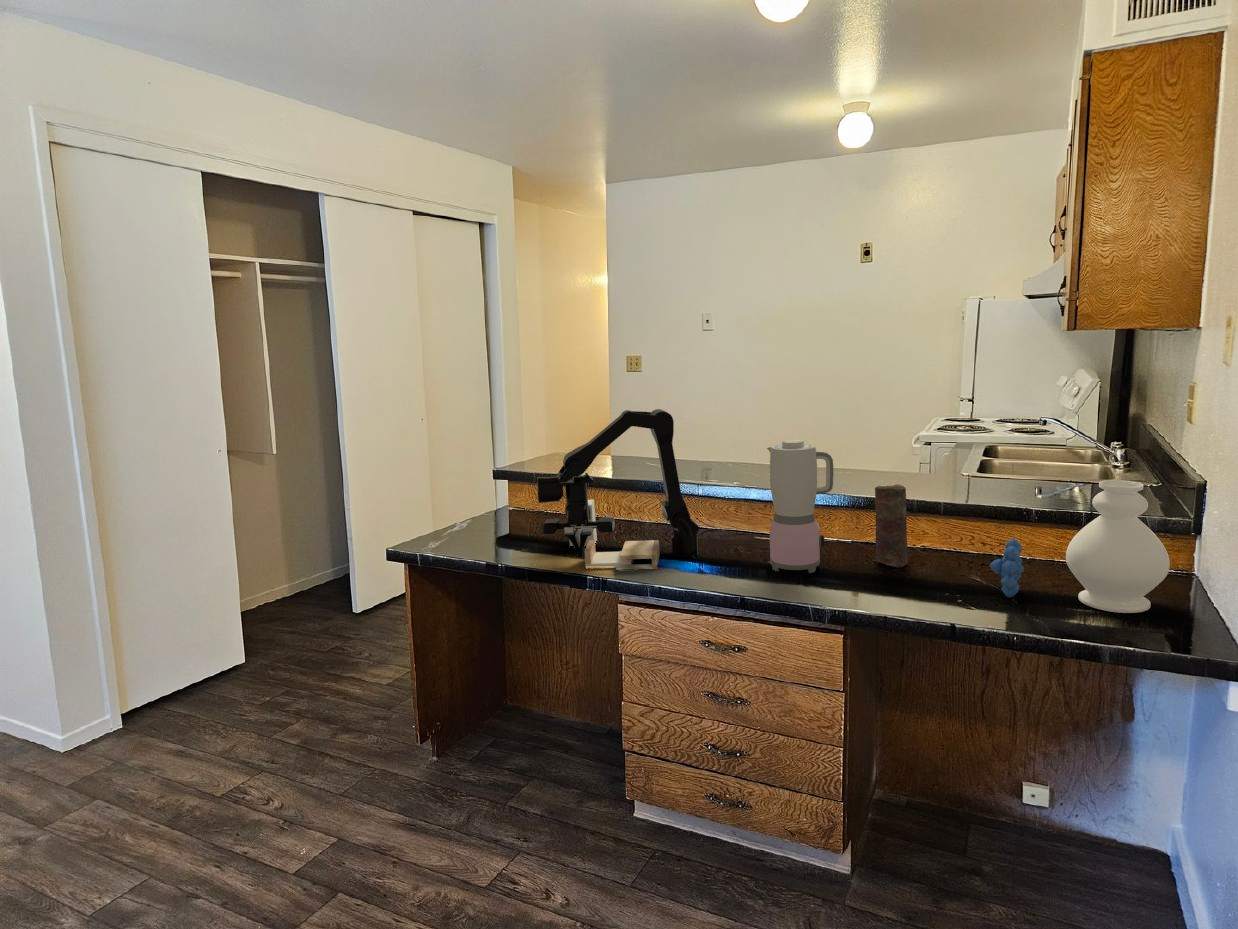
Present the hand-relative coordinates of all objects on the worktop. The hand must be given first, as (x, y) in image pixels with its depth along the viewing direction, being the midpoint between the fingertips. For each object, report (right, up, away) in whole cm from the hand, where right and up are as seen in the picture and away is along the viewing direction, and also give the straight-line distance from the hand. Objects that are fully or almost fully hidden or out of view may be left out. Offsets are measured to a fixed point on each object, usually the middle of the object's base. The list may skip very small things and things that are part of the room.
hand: (580, 556), depth 204 cm
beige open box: (+14, -1, -1) cm, 15 cm away
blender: (+56, -1, -13) cm, 57 cm away
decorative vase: (+113, -4, -46) cm, 122 cm away
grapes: (+95, -4, -38) cm, 102 cm away
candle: (+78, 0, -14) cm, 79 cm away
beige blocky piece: (+8, -2, 0) cm, 8 cm away
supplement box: (0, +1, +18) cm, 18 cm away
